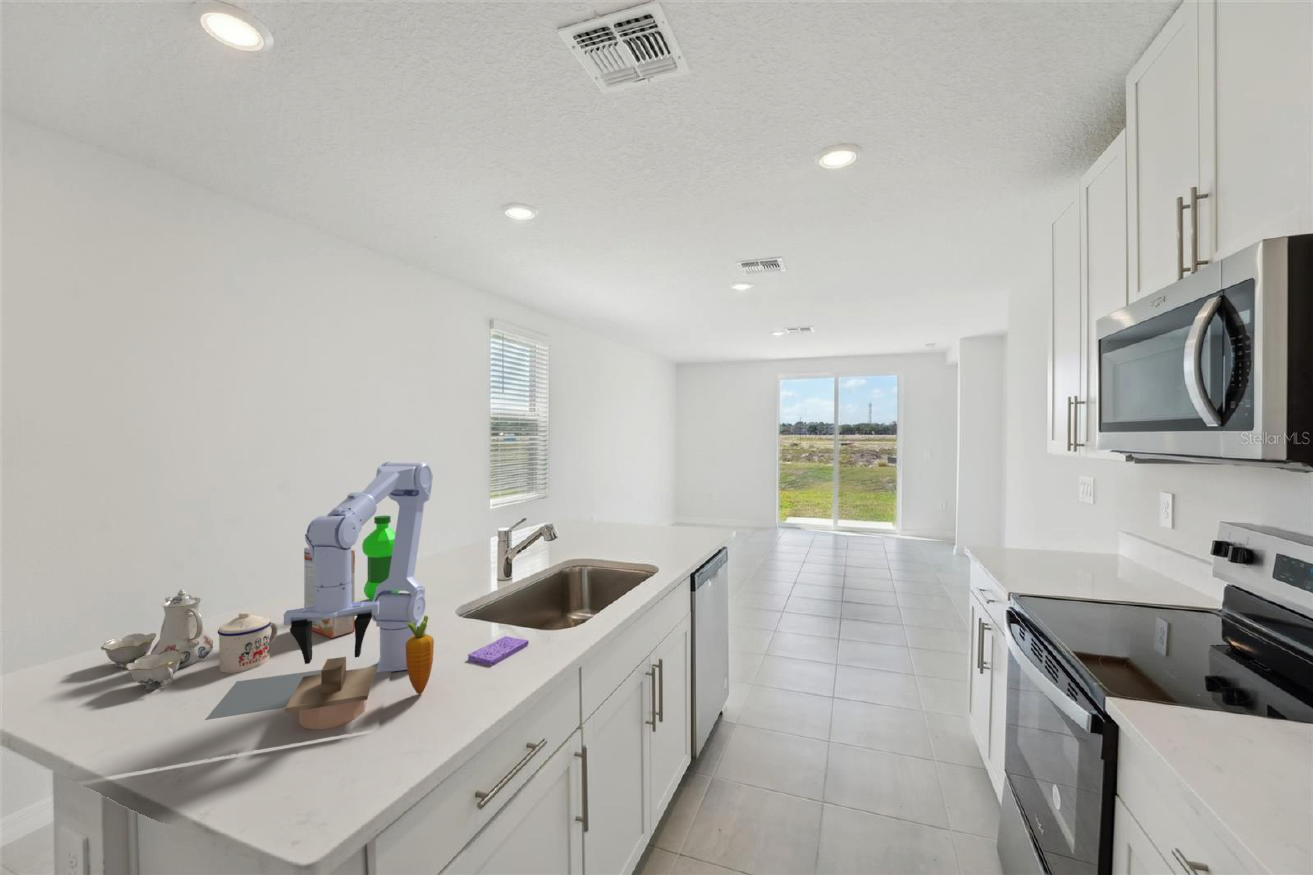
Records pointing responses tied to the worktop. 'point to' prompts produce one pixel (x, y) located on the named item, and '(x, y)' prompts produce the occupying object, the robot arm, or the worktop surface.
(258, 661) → the teacup with lid
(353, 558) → the cracker box
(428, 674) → the carrot
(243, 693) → the rubber mat
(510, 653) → the sponges
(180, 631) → the chinaware
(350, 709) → the terracotta bowl
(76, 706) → the worktop surface
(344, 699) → the walnut lid
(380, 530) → the plastic bottle
